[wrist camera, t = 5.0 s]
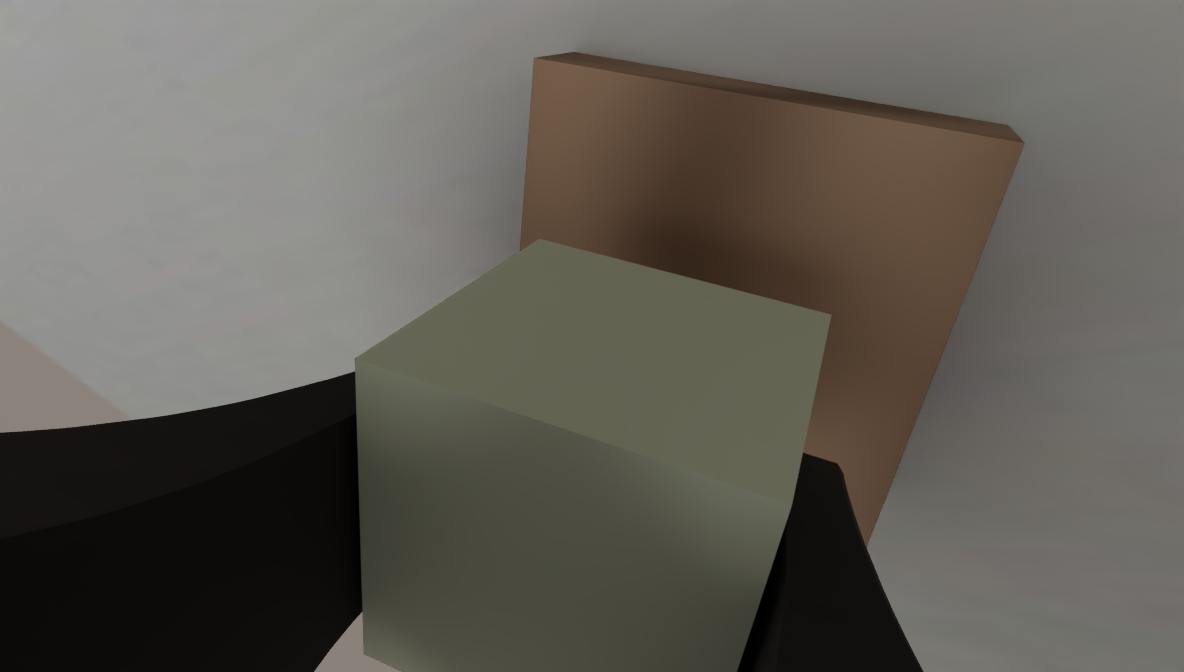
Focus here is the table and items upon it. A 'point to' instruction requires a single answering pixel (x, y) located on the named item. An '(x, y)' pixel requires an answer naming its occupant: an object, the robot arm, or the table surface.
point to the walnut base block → (781, 221)
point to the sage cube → (579, 468)
